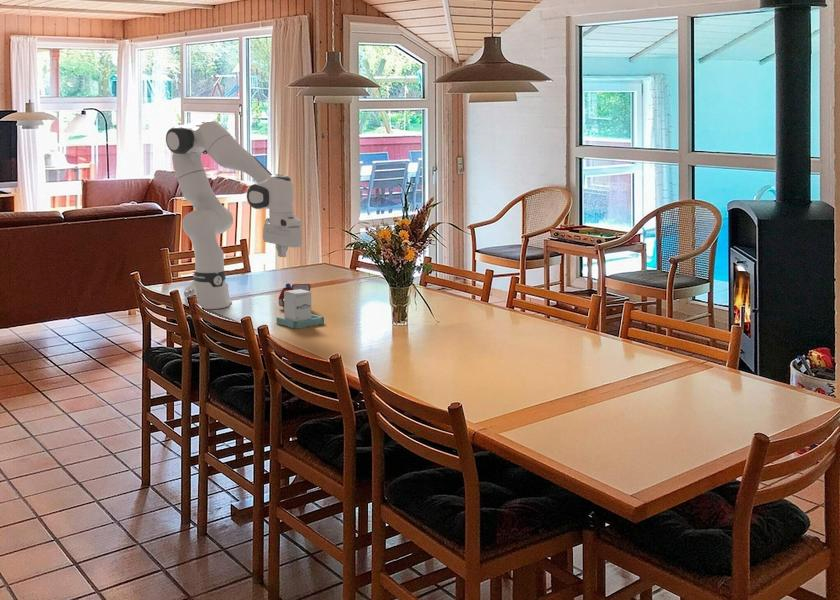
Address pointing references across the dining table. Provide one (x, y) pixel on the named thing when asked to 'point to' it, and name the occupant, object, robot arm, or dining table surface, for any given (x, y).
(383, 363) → the dining table surface
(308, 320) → the tray
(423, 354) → the dining table surface
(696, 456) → the dining table surface
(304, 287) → the toy fire truck
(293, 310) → the supplement box
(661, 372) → the dining table surface
